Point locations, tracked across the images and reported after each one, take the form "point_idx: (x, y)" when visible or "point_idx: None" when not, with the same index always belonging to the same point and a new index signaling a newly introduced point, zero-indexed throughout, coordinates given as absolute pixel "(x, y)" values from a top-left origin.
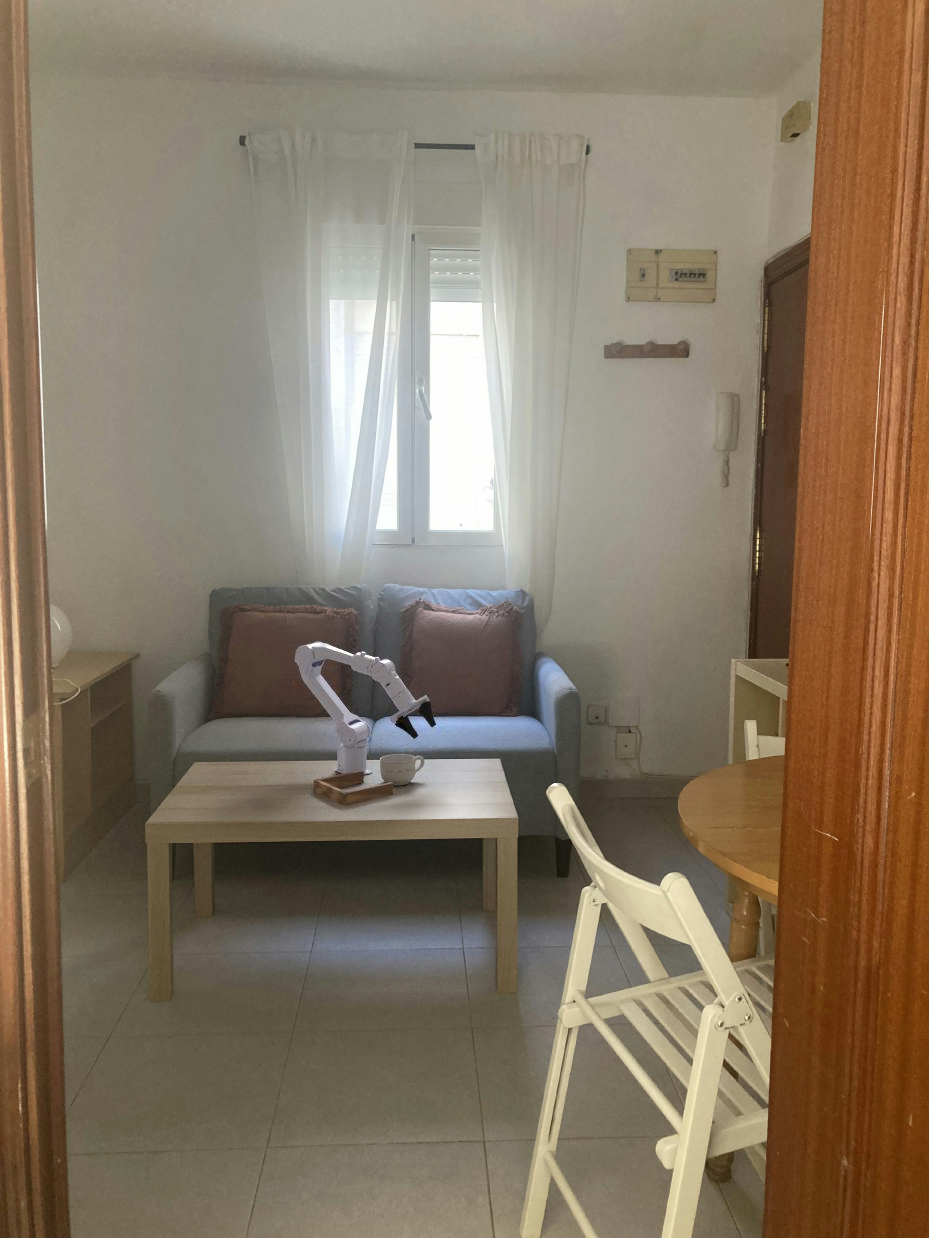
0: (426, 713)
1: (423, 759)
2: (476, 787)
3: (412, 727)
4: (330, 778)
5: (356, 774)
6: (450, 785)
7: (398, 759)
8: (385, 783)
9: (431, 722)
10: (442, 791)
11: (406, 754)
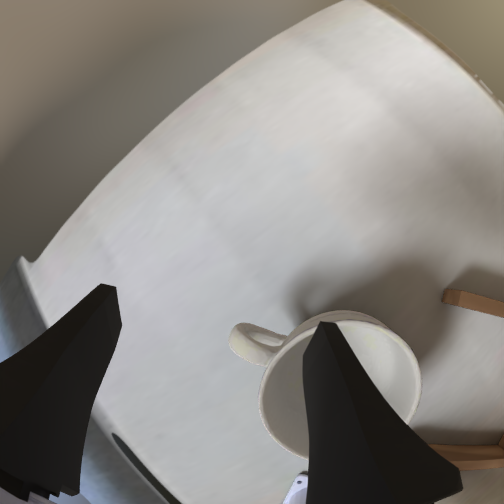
0: (62, 401)
1: (240, 327)
2: (216, 137)
3: (357, 385)
4: (488, 458)
5: None
6: (248, 205)
7: (282, 424)
8: (476, 308)
9: (104, 328)
10: (317, 185)
11: (261, 408)
